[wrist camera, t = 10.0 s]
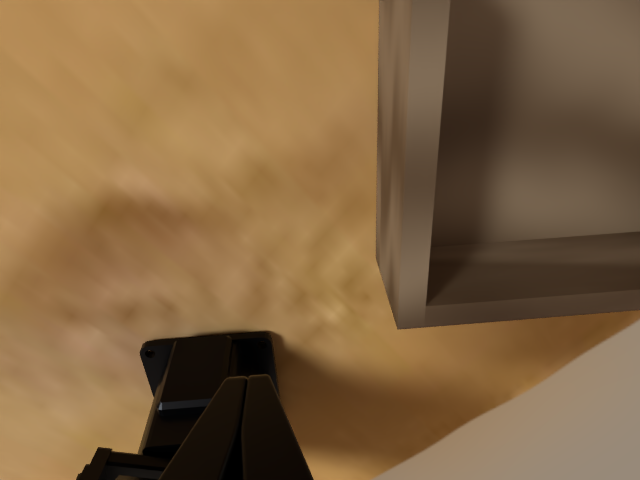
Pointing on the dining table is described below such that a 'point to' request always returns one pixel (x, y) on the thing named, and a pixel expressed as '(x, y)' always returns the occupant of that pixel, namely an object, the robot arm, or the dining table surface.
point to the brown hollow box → (508, 159)
